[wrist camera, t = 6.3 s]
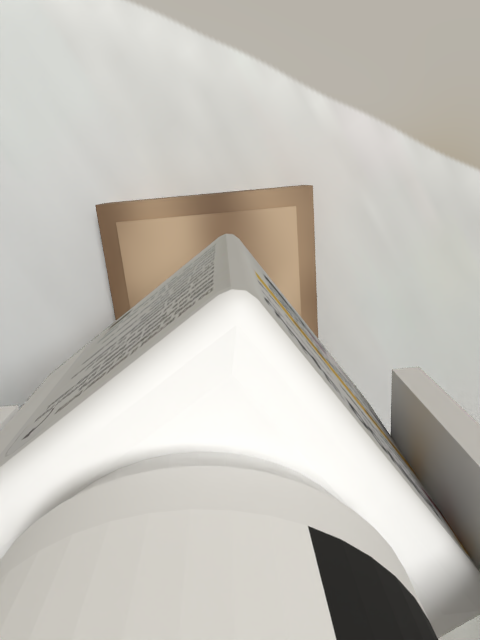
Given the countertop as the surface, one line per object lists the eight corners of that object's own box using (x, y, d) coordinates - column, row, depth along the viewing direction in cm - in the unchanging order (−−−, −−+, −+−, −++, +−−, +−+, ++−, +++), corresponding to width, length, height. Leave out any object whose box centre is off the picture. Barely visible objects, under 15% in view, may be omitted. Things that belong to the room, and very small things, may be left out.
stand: (137, 383, 31) (129, 402, 28) (106, 202, 27) (94, 205, 24) (311, 367, 31) (320, 384, 28) (304, 185, 27) (313, 185, 25)
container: (370, 404, 15) (984, 1328, 3) (198, 523, 17) (133, 1531, 4) (229, 226, 13) (340, 798, 1) (45, 376, 15) (-929, 1474, 2)
